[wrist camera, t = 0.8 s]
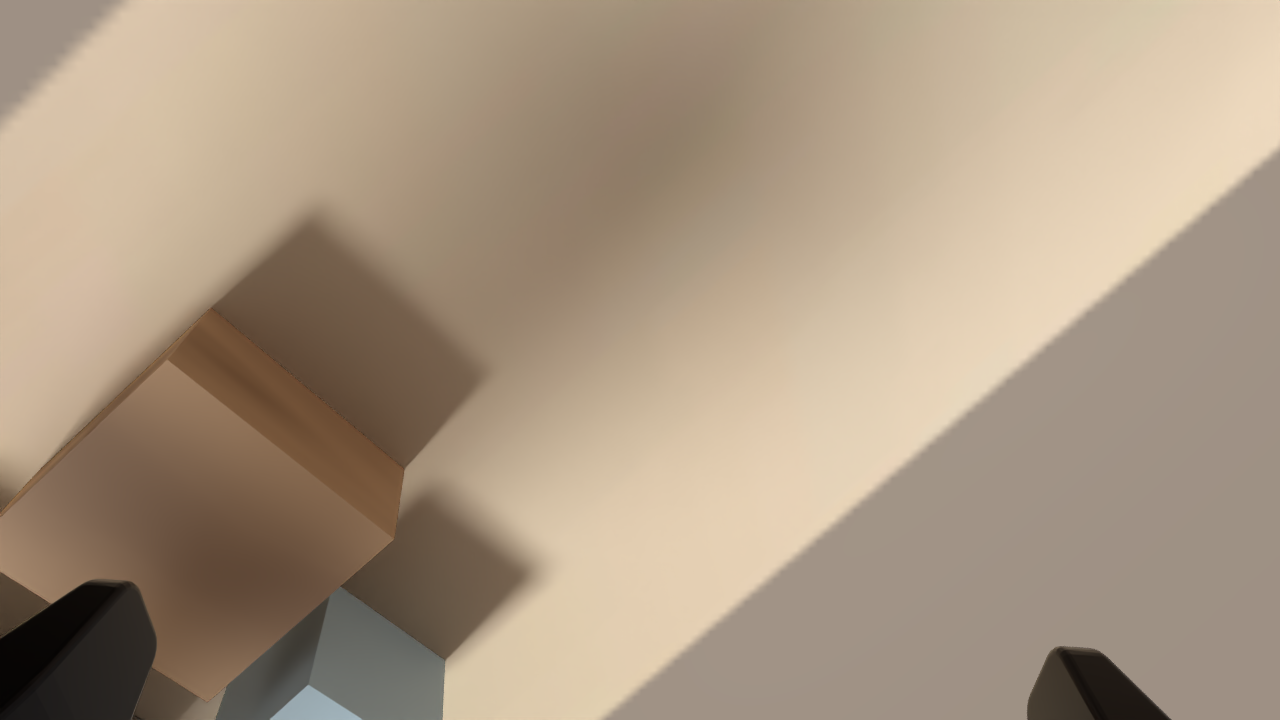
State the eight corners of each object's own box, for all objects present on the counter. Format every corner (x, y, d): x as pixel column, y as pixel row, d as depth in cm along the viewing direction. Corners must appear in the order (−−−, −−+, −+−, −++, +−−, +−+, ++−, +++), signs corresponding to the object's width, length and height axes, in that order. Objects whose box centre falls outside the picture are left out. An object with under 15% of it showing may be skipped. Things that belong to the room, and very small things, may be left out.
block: (347, 744, 26) (326, 867, 22) (232, 672, 25) (189, 791, 21) (445, 658, 26) (439, 769, 22) (333, 579, 24) (308, 684, 20)
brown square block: (242, 608, 24) (207, 702, 21) (41, 468, 22) (-35, 550, 19) (405, 465, 23) (394, 539, 20) (213, 304, 21) (167, 359, 18)
